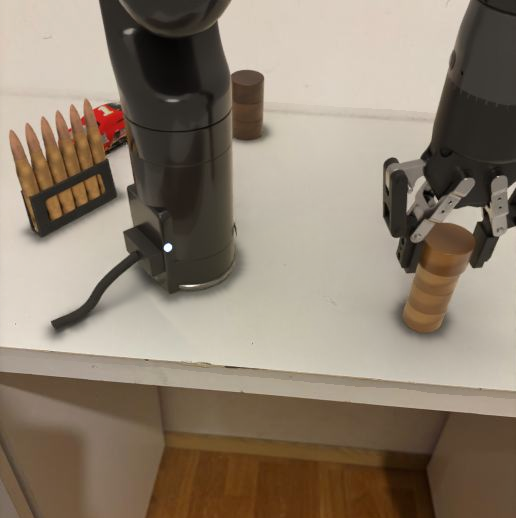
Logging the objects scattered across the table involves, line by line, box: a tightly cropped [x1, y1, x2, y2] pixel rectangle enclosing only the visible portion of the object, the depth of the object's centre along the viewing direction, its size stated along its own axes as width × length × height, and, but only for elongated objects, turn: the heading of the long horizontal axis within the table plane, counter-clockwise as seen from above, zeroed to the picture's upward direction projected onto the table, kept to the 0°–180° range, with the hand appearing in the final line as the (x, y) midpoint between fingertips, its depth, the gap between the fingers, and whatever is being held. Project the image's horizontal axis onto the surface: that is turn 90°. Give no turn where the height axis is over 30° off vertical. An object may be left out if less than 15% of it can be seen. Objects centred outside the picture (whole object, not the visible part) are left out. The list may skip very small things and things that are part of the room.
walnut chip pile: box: [231, 69, 265, 141], centre depth 76 cm, size 4×4×8 cm
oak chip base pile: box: [402, 263, 461, 334], centre depth 54 cm, size 4×4×8 cm
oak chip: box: [419, 221, 476, 277], centre depth 50 cm, size 4×4×2 cm
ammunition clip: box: [8, 97, 118, 238], centre depth 62 cm, size 11×2×12 cm, turn 138°
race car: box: [57, 101, 127, 153], centre depth 75 cm, size 13×5×4 cm, turn 140°
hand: (440, 264), depth 51 cm, fingers open, 5 cm apart
